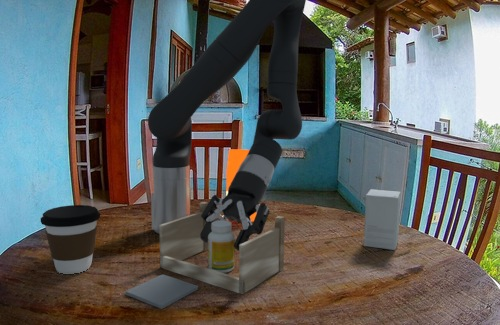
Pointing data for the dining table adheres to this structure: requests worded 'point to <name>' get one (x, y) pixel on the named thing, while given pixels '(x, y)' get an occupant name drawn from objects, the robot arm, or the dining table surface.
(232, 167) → the orange juice
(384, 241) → the supplement box
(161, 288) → the mat
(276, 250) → the grey open box frame
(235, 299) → the dining table surface
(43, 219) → the coffee cup
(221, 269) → the supplement bottle
